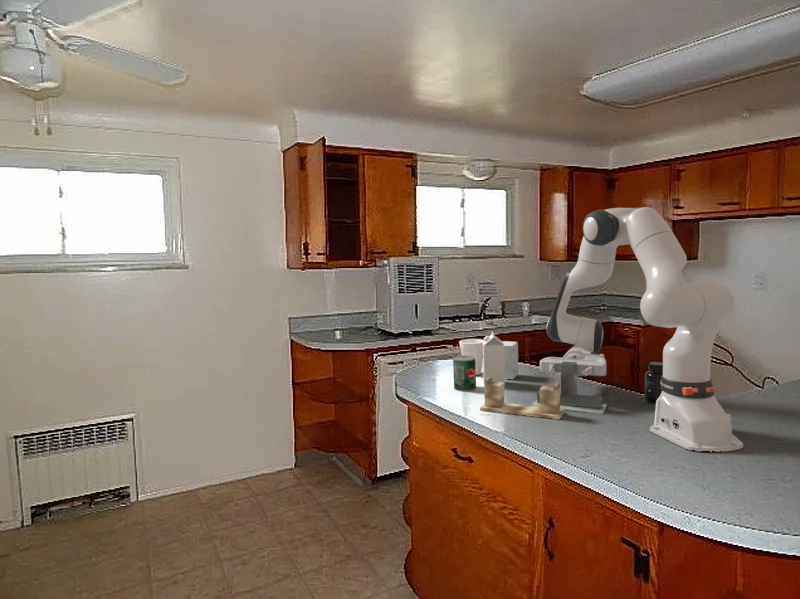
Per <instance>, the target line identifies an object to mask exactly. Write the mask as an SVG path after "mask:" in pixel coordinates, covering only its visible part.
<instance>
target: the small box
mask: <svg viewBox="0 0 800 599" xmlns="http://www.w3.org/2000/svg"><path fill="white" fill-rule="evenodd" d="M501 341H502V340H501ZM502 342H503V344H504V369H505V378H506V379H513V380H514V378H515V377H516V376H517V375H518V374H519V344H518V343H519V342H518V341H509V340H505V341H502ZM518 376H519V375H518ZM518 376H517V377H518ZM517 377H516V378H517Z"/></svg>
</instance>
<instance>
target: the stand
mask: <svg viewBox="0 0 800 599" xmlns="http://www.w3.org/2000/svg"><path fill="white" fill-rule="evenodd" d="M483 384H484V390H483V391H484V404H483V405H482V406H480V408H479V411H480V412H489V413H496V412H501V413H500V414H505V413H510V414H509V415H513V414H517V415H516V416H522V415H526V416H525V417H531V416H534V418H540V417H545V418H544V419H548V418H552V419H551V420H557V419H559V420H558V421H560V420H561V419H560V418H562V417H563V416H564V414H565V413H566V410H565V409H560V393H561V381H560V382H559V381H558V382H555V383H554V384H553V386H546V385H542V386H541V387H540V388H539V391H540V407H538V406H531V405H527V404H518V403H507V402H505V386H504V382H492V377H487V378H486V379H484V378H483ZM564 412H565V413H564ZM562 415H563V416H562Z"/></svg>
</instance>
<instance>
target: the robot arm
mask: <svg viewBox="0 0 800 599" xmlns="http://www.w3.org/2000/svg"><path fill="white" fill-rule="evenodd" d="M582 233H583V236H582V239H581V243H580V248H579V252H578V258H577V262H576V264H575V266H574V267H573V268H571V269H568V270H567V272H566V273H565V275H564V277H563V279H562V282H561V284H560V288H559V291H558V293H557V296H556V300H555V303H554V305H553V308H552V312H551V313H550V316H549V318H548V321H547V323H546V328H545V330H546V331H545V332H546V334H547V336H548V337H549V338H550V340H551V341H552V342H557V343H567V344H570V345H573V346H571V348H570V349H569V350H568V351H567V352H566V353H565V354H564V355H563V356H562V357H557V356H548V357H544V358H542V359H540V360H539V370H540V372H542V373H549V374H555V375H556V374H561V364H562V362H577V378H579V377H587V376H594V377H606V375H607V360H606V358H605V355H604V354H603V353H598V352H600V351H601V349H602V347H603V343H604V338H605V329H604V326H603V325H602V323H601V322H600V321H599V320H598V319H593V318H589V317H583V316H579V315H578V316H577V315H573V314H569V313H567V308H568V306H569V303H570V299H571V296H572V293H574V292H575V291H578V290H581V289H586V288H592V287H596V286H599V285H602V284H604V283H605V282H607V281H608V280H609V279H610V278H611V276H612V273H613V271H614V267H615V262H616V255H617V248H618V247H619V246H625V245H626V246H627V245H630V248H631V250H632V252H633V253H634V255H635V257H636V259H637V262H638V263H639V265H640V267H641V269H642V272H643V274H644V277H645V282H646V289H645V292H644V293H643V295H642V296H641V298H640V299H641V300H640V303H639V309H640V313H641V317H642V318H643V319H644V322H646V323H647V324H649V325H651V326H653V327H660V328H666V329H672V328H676V330H675V333H674V334H673V336H672V337H671V338H670V339H669V340H668V341H667V343H665V345H664V347H663V349H662V350H663V351H662V363H663V375H662V376H661V381H660V383H661V390H662V393H661V395H660V397H659V398H658V399H657V401H656V404H655V408H654V409H655V412H654V423H653V424H652V425H651V426H649V431H650V432H651V433H653V434H655V435H657V436H659V437H661V438H662V439H665V440H667V441H669V442H671V443H673V444H675V445H678V446H679V447H682V448H683V449H685V450H687V449H688V450H687V451H692V450H695V451H694V452H701V451H710V452H709V453H713V452H712V451H715V452H716V453H718V452H720V451H721V452H732V451H737V450H741V449H743V448H744V442H743V441H741V440H740V439H739V438H738V437H737V436H735V434H733V427H732V416H731V414H730V413H726V412H725V410H724V409H723V407H722V406H721V404H720V402H719V401H718V400H717V398H716V396H715V395H716V394H715V392H716V390H715V389H716V386H715V385H714V383H713V380H712V378H711V367H712V366H711V362H712V351H713V346H714V343H715V339H716V337H717V334H718V332H719V330H720V327H721V325H722V324H723V322H724V321H725V320H726V319H728V318H727V317H729V316H730V315H731V314H732V312H733V310H734V307H735V299H734V295H733V293H732V291H731V290H730V289H729V288H728V287H727V286H726V285H724V284H721V283H717V282H709V281H697V282H687V281H686V280H685V278H684V276H683V273H682V270H683V269H684V267H685V266H686V263H687V260H688V259H687V254H686V253H685V251H684V249H683V247H682V245H681V244H680V242H679V240H678V239H677V236H676V235H675V234H674V232H673V230H672V228H671V227H670V225H669V224H668V223H667V221H666V220H665V218H663V217H662V215H661V214H660V213H659V212H658V211H657V210H656V209H655V208H653V207H648V206H645V207H644V206H643V207H614V208H613V207H612V208H606V209H597V210H594V211H591V212H590V213H587V215H586V216H585V217H584V219H583V222H582ZM715 452H714V453H715Z"/></svg>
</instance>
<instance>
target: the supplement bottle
mask: <svg viewBox="0 0 800 599" xmlns="http://www.w3.org/2000/svg"><path fill="white" fill-rule="evenodd" d="M662 375H663V361H662V362H661V361H652V362H648V371H646V372H645V374H644V400H645V402H646V403H649V404H652V405H656V401H657V399H658V398H659V397H660V395H661V393H662V390H661V383H660V381H661V376H662Z"/></svg>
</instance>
